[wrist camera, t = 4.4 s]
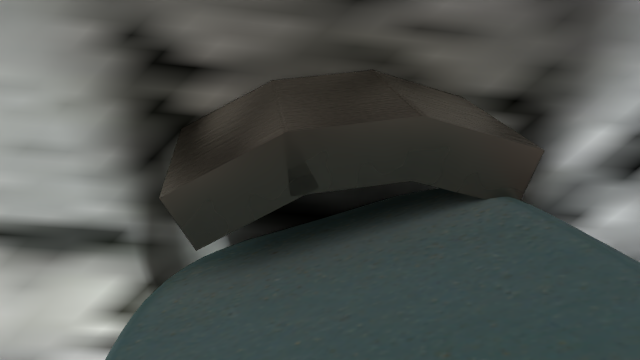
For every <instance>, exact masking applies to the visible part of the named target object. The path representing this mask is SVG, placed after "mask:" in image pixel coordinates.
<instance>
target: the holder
mask: <svg viewBox="0 0 640 360" xmlns="http://www.w3.org/2000/svg"><path fill="white" fill-rule="evenodd" d="M543 152H544V150H543V149H542V148H540V147H538V146H537V145H535V144H534V143H532V142H531V141H529V140H528V139H526V138H525V137H523V136H521V135H520V134H518V133H517V132H515V131H514V130H512V129H511V128H509V127H507V126H506V125H504V124H503V123H501V122H500V121H498V120H497V119H495V118H493V117H492V116H490V115H489V114H487V113H486V112H484V111H483V110H481V109H480V108H478V107H476V106H475V105H473V104H472V103H470V102H469V101H467V100H466V99H464V98H462V97H460V96H456V95H453V94H450V93H446V92H443V91H440V90H436V89H433V88H430V87H426V86H423V85H420V84H417V83H413V82H410V81H407V80H403V79H400V78H397V77H393V76H390V75H387V74H383V73H380V72H377V71H375V70H368V71H358V72H349V73H339V74H330V75H320V76H311V77H301V78H292V79H282V80H272V81H271V82H269V83H267V84H265V85H263V86H261V87H259V88H257V89H255V90H254V91H252V92H250V93H248V94H246V95H244V96H242V97H240V98H238V99H237V100H235V101H233V102H231V103H229V104H227V105H225V106H223V107H221V108H220V109H218V110H216V111H214V112H212V113H210V114H208V115H206V116H204V117H203V118H201V119H199V120H197V121H195V122H193V123H191V124H189V125H187V126H186V127H184V128H182V129H181V132H180V135H179V138H178V141H177V144H176V147H175V150H174V153H173V157H172V160H171V163H170V166H169V169H168V172H167V175H166V178H165V181H164V184H163V187H162V190H161V194H160V197H159V199H160V200H161V202H162V203H163V204H164V206H165V207H166V209H167V210H168V212H169V213H170V214H171V216H172V217H173V219H174V220H175V221H176V223H177V224H178V226H179V227H180V228H181V230H182V231H183V233H184V234H185V235H186V237H187V238H188V240H189V241H190V243H191V244H192V245H193V247H194V248H195V250H196V251H197V250H199V249H201V248H202V247H204V246H206V245H208V244H210V243H212V242H214V241H216V240H218V239H220V238H222V237H224V236H226V235H228V234H230V233H232V232H234V231H236V230H238V229H239V228H241V227H243V226H245V225H247V224H249V223H251V222H253V221H255V220H257V219H259V218H261V217H263V216H265V215H267V214H269V213H271V212H273V211H275V210H276V209H278V208H280V207H282V206H284V205H286V204H288V203H290V202H292V201H294V200H296V199H298V198H300V197H302V196H304V195H306V194H313V193H321V192H329V191H337V190H345V189H353V188H360V187H368V186H376V185H384V184H392V183H400V182H408V181H414V182H418V183H422V184H425V185H429V186H433V187H437V188H441V189H445V190H449V191H453V192H457V193H461V194H465V195H469V196H473V197H477V198H481V199H485V200H487V199H491V198H498V197H511V198H515V199H517V200H521V198H522V196H523V194H524V192H525V190H526V188H527V186H528V184H529V182H530V179H531V177H532V175H533V173H534V171H535V169H536V167H537V165H538V163H539V161H540V159H541V157H542V155H543Z"/></svg>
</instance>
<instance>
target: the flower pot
mask: <svg viewBox="0 0 640 360" xmlns="http://www.w3.org/2000/svg"><path fill="white" fill-rule="evenodd" d="M105 360H640V263H639V262H637V261H636V260H634V259H632V258H630V257H628V256H627V255H625V254H623V253H621V252H619V251H618V250H616V249H614V248H612V247H610V246H608V245H607V244H605V243H603V242H601V241H599V240H597V239H595V238H593V237H591V236H590V235H588V234H586V233H584V232H582V231H581V230H579V229H577V228H575V227H573V226H571V225H570V224H568V223H566V222H564V221H562V220H560V219H558V218H556V217H554V216H552V215H550V214H548V213H546V212H544V211H542V210H540V209H538V208H536V207H534V206H532V205H530V204H527V203H525V202H522V201H520V200H517V199H515V198H511V197H498V198H491V199H487V200H485V199H481V198H477V197H473V196H469V195H465V194H461V193H457V192H453V191H449V190H445V189H441V188H440V189H431V190H424V191H419V192H414V193H410V194H405V195H401V196H395V197H392V198H389V199H385V200H382V201H379V202H375V203H372V204H369V205H366V206H362V207H359V208H356V209H352V210H349V211H346V212H342V213H339V214H336V215H332V216H329V217H326V218H323V219H319V220H316V221H312V222H309V223H305V224H302V225H299V226H295V227H292V228H288V229H285V230H281V231H278V232H275V233H271V234H267V235H264V236H260V237H257V238H253V239H250V240H246V241H243V242H241V243H238V244H235V245H232V246H230V247H227V248H224V249H221V250H219V251H216V252H214V253H212V254H209V255H207V256H205V257H203V258H201V259H199V260H197V261H195V262H194V263H192V264H190V265H188V266H187V267H185V268H183V269H182V270H181V271H179V272H178V273H176V274H175V275H173V276H172V277H170V278H169V279H168V280H166V281H165V282H164V283H163V284H162V285H161V286H160V287H158V288H157V289H156V290H155V291H154V292H153V293H152V294H151V295H150V296H149V297H148V298H147V299H146V300H145V301H144V302H143V304H142V305H141V306H140V307H139V308H138V310H137V311H136V312H135V313H134V315H133V316H132V318H131V319H130V320H129V322H128V323H127V325H126V326H125V328H124V329H123V331H122V332H121V334H120V335H119V337H118V339H117V340H116V342H115V344H114V345H113V347H112V349H111V350H110V352H109V354H108V356H107V357H106V359H105Z"/></svg>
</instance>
